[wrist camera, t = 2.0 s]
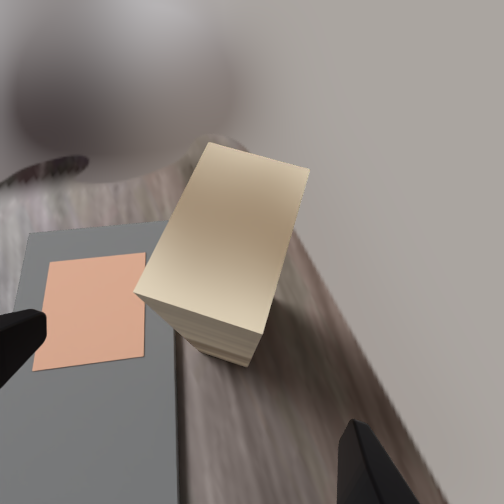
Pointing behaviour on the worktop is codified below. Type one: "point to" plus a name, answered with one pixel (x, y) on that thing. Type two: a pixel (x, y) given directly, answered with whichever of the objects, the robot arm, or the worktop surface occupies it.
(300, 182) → the cream block
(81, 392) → the mat
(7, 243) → the worktop surface
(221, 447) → the worktop surface
